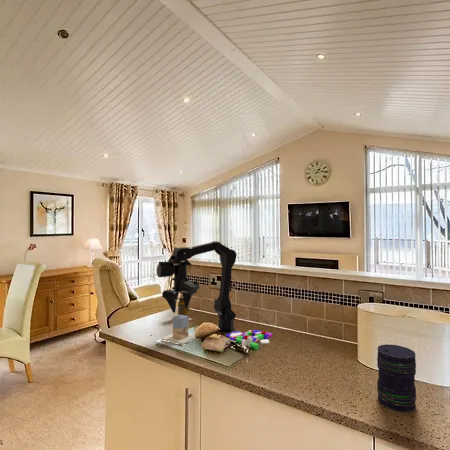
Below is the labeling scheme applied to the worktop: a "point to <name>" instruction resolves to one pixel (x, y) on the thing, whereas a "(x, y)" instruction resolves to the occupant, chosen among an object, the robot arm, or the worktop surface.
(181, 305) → the condiment
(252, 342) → the building block set
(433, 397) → the worktop surface
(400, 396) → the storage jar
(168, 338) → the plate
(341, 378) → the worktop surface
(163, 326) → the worktop surface
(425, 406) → the worktop surface
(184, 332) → the oak block
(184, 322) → the slate block
